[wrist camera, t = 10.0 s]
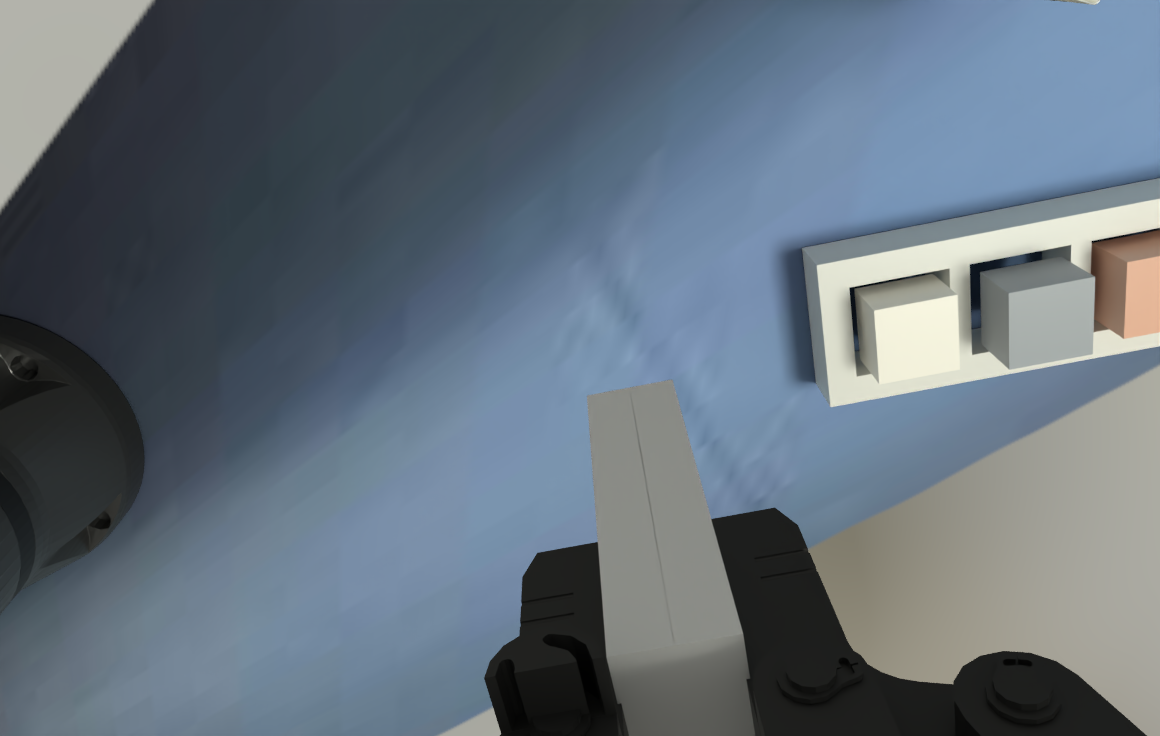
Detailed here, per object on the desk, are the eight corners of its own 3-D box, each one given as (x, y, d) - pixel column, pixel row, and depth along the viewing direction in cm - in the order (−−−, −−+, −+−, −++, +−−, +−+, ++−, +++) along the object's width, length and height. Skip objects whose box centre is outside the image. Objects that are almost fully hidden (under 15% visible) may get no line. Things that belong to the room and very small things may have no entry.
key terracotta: (1089, 315, 48) (1124, 339, 45) (1091, 243, 47) (1127, 262, 44) (1167, 301, 48) (1206, 323, 45) (1172, 227, 47) (1213, 245, 44)
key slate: (981, 344, 48) (1009, 369, 45) (979, 272, 46) (1008, 293, 43) (1059, 329, 48) (1092, 354, 45) (1060, 256, 46) (1095, 276, 43)
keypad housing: (815, 383, 52) (830, 407, 49) (802, 247, 49) (816, 265, 46) (1179, 315, 51) (1215, 335, 48) (1189, 172, 48) (1228, 185, 45)
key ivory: (860, 359, 49) (879, 384, 46) (854, 288, 47) (873, 310, 45) (935, 344, 49) (959, 369, 46) (932, 273, 47) (957, 294, 44)
